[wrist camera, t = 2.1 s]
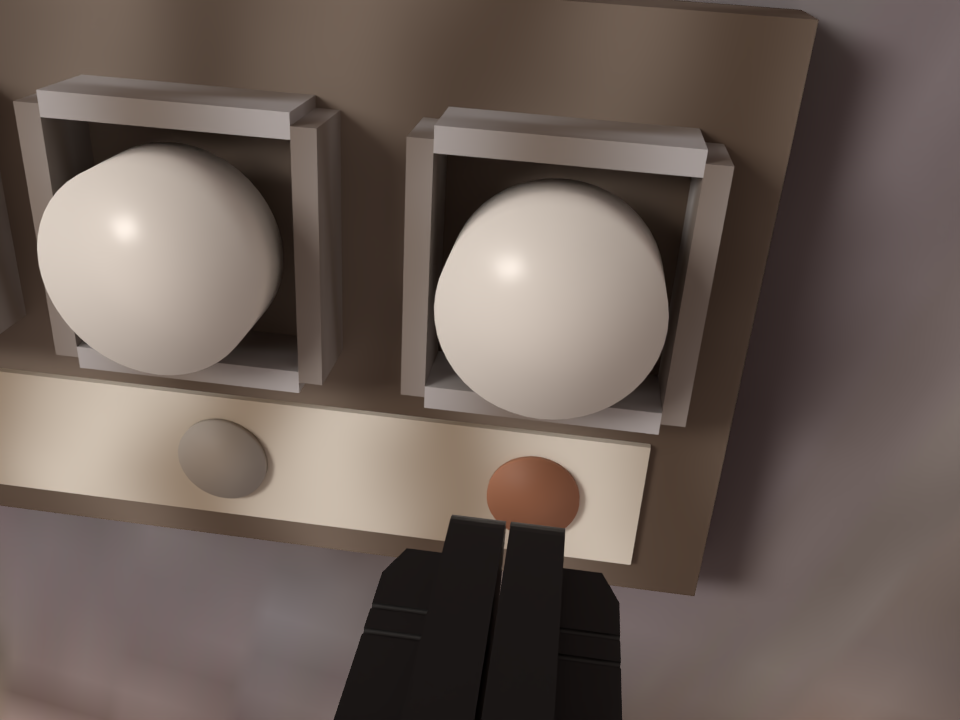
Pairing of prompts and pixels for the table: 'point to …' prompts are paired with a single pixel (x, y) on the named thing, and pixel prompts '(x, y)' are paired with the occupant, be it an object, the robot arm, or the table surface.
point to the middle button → (160, 257)
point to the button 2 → (553, 300)
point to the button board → (396, 261)
